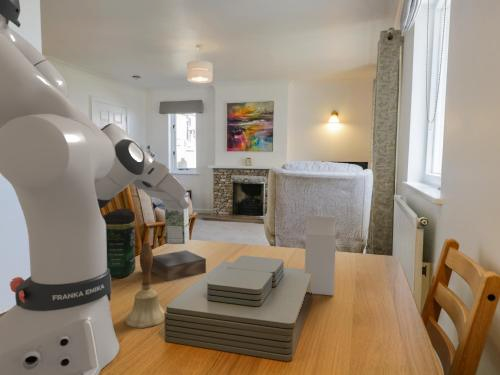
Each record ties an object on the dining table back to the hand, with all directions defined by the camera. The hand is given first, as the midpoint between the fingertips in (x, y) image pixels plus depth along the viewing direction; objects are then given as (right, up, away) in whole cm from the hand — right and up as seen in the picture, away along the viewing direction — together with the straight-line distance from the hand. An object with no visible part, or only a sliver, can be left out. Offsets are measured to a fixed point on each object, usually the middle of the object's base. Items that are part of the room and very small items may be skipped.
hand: (179, 205), depth 101 cm
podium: (-1, -19, +1) cm, 19 cm away
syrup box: (0, -11, 0) cm, 11 cm away
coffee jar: (-16, -20, -2) cm, 26 cm away
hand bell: (-1, -22, -30) cm, 37 cm away
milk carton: (+38, -21, -13) cm, 46 cm away
